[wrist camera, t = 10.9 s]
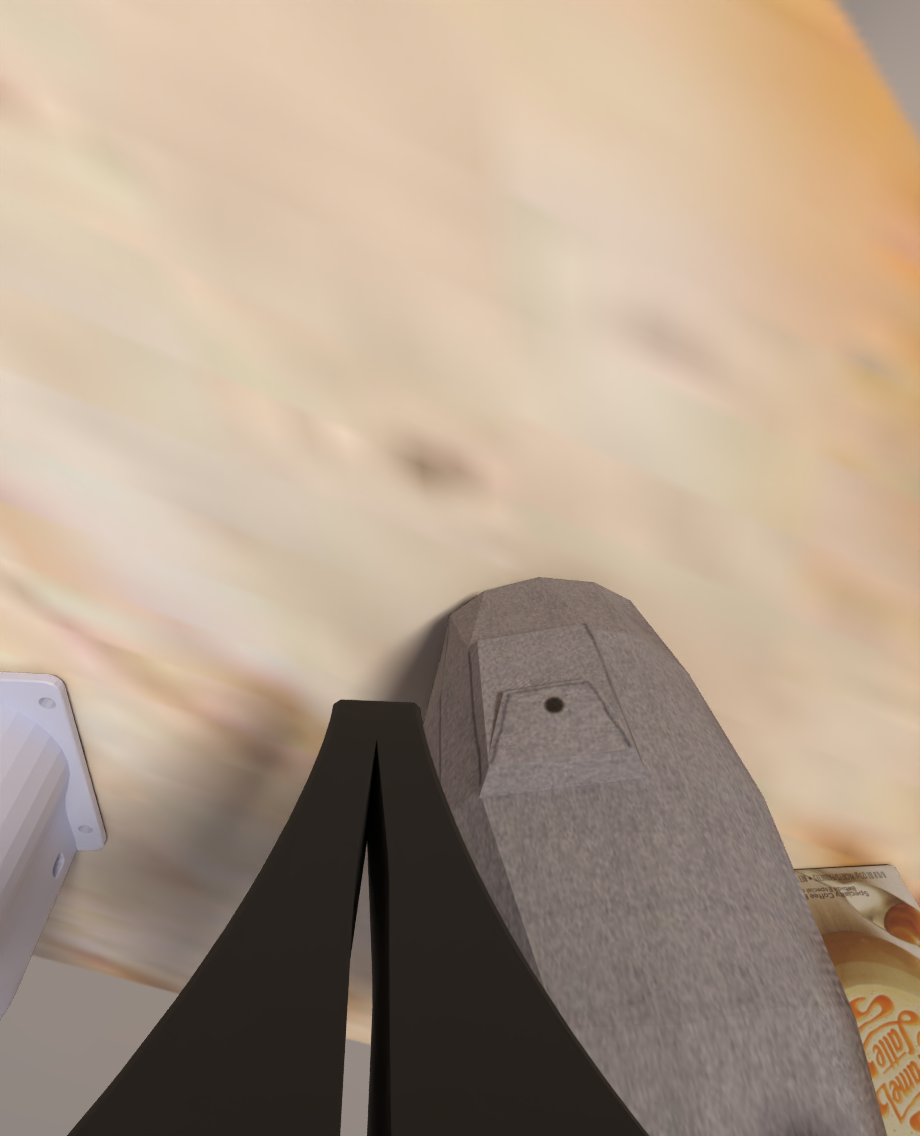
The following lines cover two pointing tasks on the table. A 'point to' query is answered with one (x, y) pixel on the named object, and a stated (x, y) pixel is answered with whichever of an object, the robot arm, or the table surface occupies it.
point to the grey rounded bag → (641, 869)
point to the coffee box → (876, 975)
